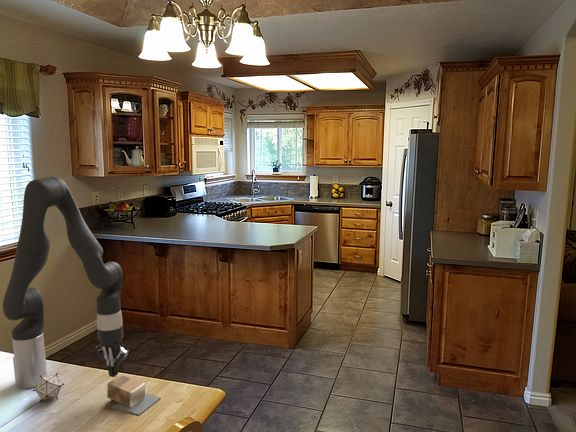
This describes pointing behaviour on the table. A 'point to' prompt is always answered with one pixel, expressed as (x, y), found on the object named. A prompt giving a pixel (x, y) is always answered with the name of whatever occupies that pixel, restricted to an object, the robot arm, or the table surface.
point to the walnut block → (126, 391)
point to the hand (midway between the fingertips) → (113, 375)
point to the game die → (48, 387)
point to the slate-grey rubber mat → (138, 405)
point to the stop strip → (110, 404)
